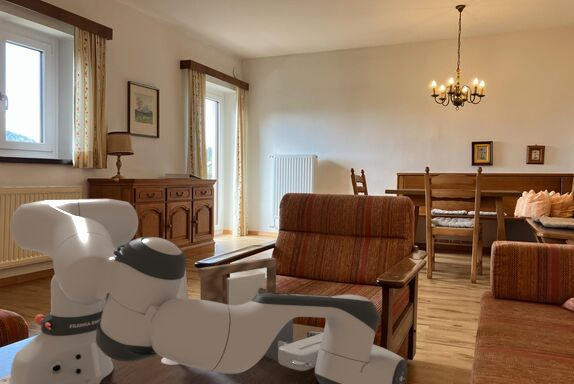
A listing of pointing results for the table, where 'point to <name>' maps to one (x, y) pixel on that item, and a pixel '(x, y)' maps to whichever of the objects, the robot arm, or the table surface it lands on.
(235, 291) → the door
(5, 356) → the table surface
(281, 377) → the table surface
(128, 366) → the table surface
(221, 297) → the door frame
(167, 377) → the table surface
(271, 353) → the doorstop
